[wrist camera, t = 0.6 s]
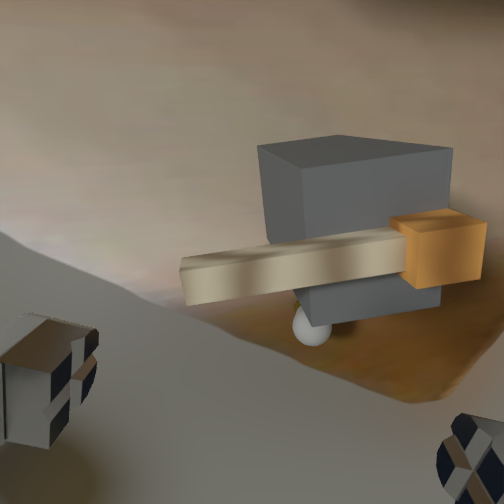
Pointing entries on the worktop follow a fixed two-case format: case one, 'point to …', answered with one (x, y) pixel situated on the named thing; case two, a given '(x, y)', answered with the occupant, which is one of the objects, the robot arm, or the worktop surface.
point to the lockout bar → (345, 258)
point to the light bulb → (309, 329)
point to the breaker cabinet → (352, 211)
